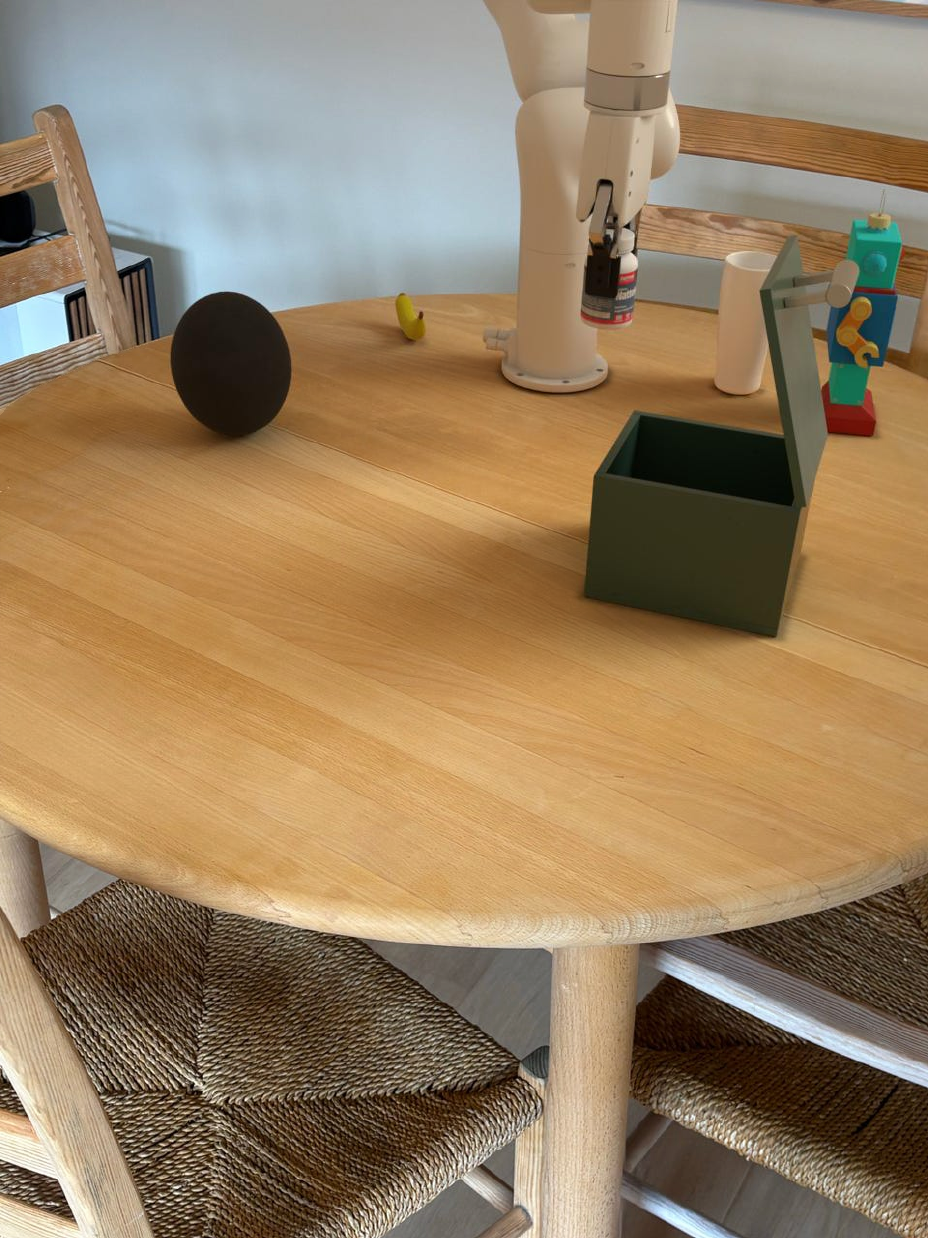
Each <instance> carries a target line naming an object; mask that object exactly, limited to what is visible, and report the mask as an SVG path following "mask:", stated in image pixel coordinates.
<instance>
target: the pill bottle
mask: <svg viewBox="0 0 928 1238" xmlns="http://www.w3.org/2000/svg"><path fill="white" fill-rule="evenodd" d="M606 231H607V232H606V234H610V237H611V238H612V239H613V233H614V230H611V229H606ZM635 237H636V236H635V234H634V232H632V231H631V230H629V229H625V228H622V234H621V240H620V246H619V252H618V256H621V267H620V278H619V289H618V295H617V296H616V298H606V297H599V296H592V295H587V294H586V293H585V280H586V266H587V257H586V259H585V264H584V276H583V289H582V301H581V313H580V318H581V320H582V322H583V323H584V324H586V325H588V326H590V327H593V328H597V329H598V330H605V331H615V330H621V329H624V328H627V327H629V326H630V325H631V324H632V322H633V320H634V310H635V301H636V292H637V282H638V281H637V280H638V271H639V261H638V258H637V256H636V254H635V255H634V254H632V253H631V251H632V250H633V247H634V238H635ZM611 241H612V240H611Z"/></svg>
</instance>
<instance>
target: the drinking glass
mask: <svg viewBox="0 0 928 1238" xmlns="http://www.w3.org/2000/svg"><path fill="white" fill-rule="evenodd" d="M777 256H778V255H775V254H773V253H769V252H763V251H756V250H755V251H754V250H745V251H743V250H741V251H735V252H732V253H729V254H727V255H726V256H725V257H724V260H723V265H722V271H721V277H720V284H719V293H718V312H717V313H718V314H717V336H716V357H715V370H714V377H713V382H714V385H715V387H716V388H717V389H718V390H720V391H721V392H724V393H727V394H731V395H736V396H738V395H739V396H743V395H744V396H745V395H751V394H753V393H755V392H756V391H758V390H759V389H760V386H761V384H762V378H763V372H764V368H765V364H766V360H767V355H768V351H769V345H768V339H767V333H766V327H765V321H764V315H763V310H762V304H761V298H760V292H759V290H760V289H761V287H762V285H763V283H764V281H765V279H766V277H767V275H768V273H769V271H770V269H771V267H772V266H773V264H774V262H775V260H776V258H777Z"/></svg>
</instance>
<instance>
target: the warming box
mask: <svg viewBox="0 0 928 1238" xmlns="http://www.w3.org/2000/svg"><path fill="white" fill-rule="evenodd" d="M592 480H593V481H592V490H591V491H592V492H591V504H590V516H589V528H588V540H587V541H588V542H587V553H586V565H585V577H584V589H583V597H584V598H589V599H594V600H597V601H598V600H599V601H603V602H607V603H608V602H609V603H613V604H617V605H622V606H627V607H632V608H636V609H642V610H644V611H645V610H646V611H650V612H656V613H660V614H666V615H669V616H675V617H680V618H683V619H687V620H688V619H689V620H692V621H693V620H694V621H698V622H703V623H708V624H713V625H717V626H722V627H727V628H732V629H736V630H742V631H745V632H751V633H756V634H761V635H765V636H769V637H773V638H774V637H775V638H777V637H778V634H779V631H780V627H781V625H782V621H783V618H784V617H783V616H784V614H785V610H786V606H787V603H788V599H789V597H790V596H789V595H790V593H791V590H792V587H793V586H792V585H793V584H794V583H793V582H794V579H795V576H796V572H797V568H798V565H799V562H800V559H801V554H802V547H803V544H804V543H803V542H804V538H805V532H806V529H807V528H806V527H807V523H808V516H809V512H810V506H811V501H812V497H813V491H814V485H815V480H816V479H815V480H814V483H813V487H812V490H811V493H810V496H809V500H808V503H807V506H806V507H802V508H796V504H795V498H794V492H793V487H792V481H791V475H790V469H789V463H788V457H787V451H786V445H785V439H784V434H782V433H777V432H776V433H775V432H770V431H764V430H759V429H753V428H746V427H740V426H733V425H727V424H722V423H715V422H709V421H704V420H703V421H702V420H697V419H690V418H685V417H678V416H673V415H668V414H667V415H666V414H660V413H654V412H650V411H649V412H647V411H643V410H635V409H634V410H633V412H632V413H631V415H630V416H629V418H628V419H627V421H626V423H625V425H624V426H623V427H622V430H621V431H620V433H619V434H618V436H617V437H616V439H615V441H613V444H612V445H611V447H610V449H609V450H608V452H607V453H606V455H605V457H604V458H603V460H602V461H601V463H600V465H599V466H598V468H597V470H596V471H595V472H594V474H593V479H592Z"/></svg>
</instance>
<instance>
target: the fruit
mask: <svg viewBox="0 0 928 1238" xmlns="http://www.w3.org/2000/svg"><path fill="white" fill-rule="evenodd" d="M394 305H395V311H396V315H397V319H398V323H399V325H400V328H401V330H402V331H403V333H404V335H405V337H406V338H408V339H409V340H412V341H418V340H421V339H423V338H424V337H425V336H426V332H427V326H426V322H425V320H424V311H422V310H420V311H419V313H418V316H416V313H415V310H414V306H413V303H412V301H411V298H409V296H408V295H407V294H406V293H404V292H401V293H399V295H398V296H397V297H396V299H395V304H394Z"/></svg>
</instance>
